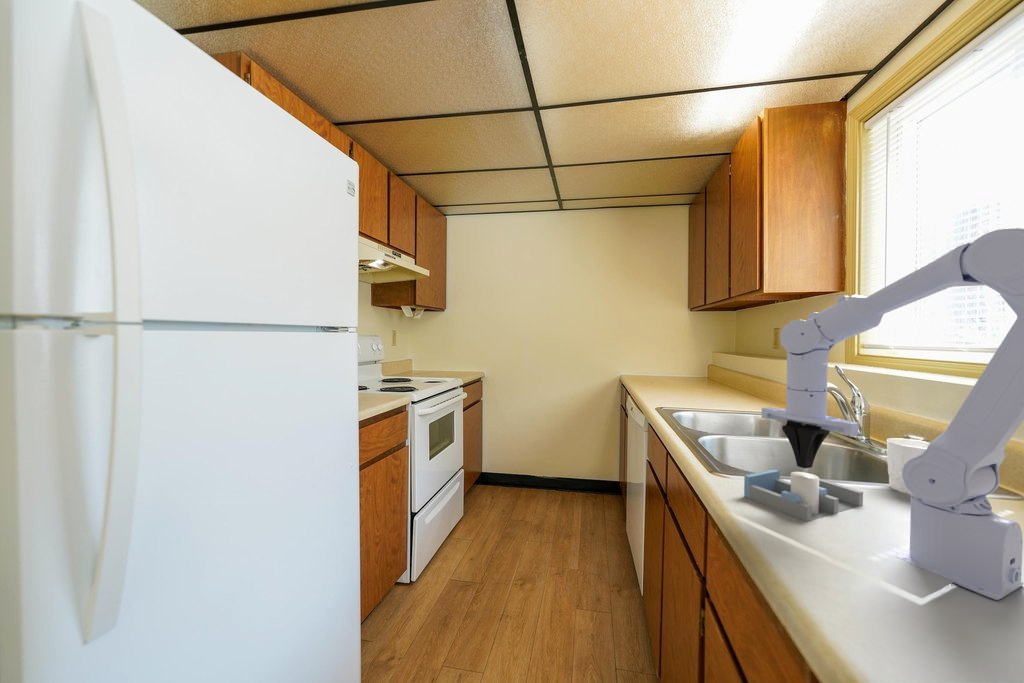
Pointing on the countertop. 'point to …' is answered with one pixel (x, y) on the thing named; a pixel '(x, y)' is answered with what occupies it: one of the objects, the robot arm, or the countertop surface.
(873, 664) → the countertop surface
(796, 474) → the white rounded cylinder
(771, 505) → the grey and blue rack
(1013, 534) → the robot arm
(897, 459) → the white cup
